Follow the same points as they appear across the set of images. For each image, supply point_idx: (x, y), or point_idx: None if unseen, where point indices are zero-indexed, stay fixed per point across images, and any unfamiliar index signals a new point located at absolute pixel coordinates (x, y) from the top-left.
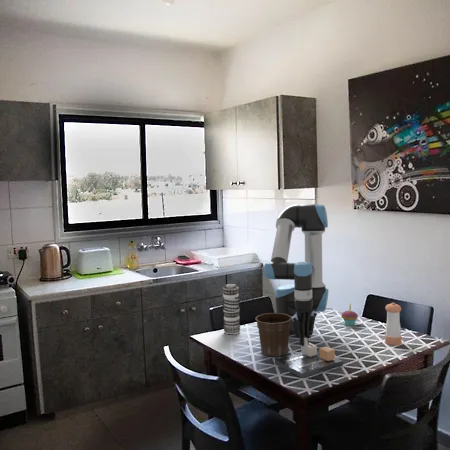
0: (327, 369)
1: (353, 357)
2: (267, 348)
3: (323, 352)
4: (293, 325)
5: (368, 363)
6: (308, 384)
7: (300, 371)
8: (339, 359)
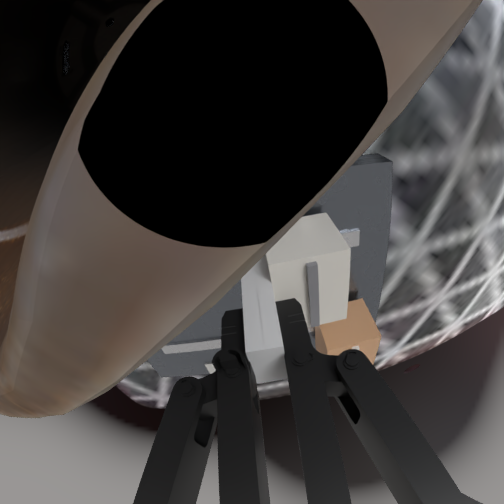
0: None
1: (445, 279)
2: (31, 114)
3: None
4: (136, 499)
5: (428, 328)
6: (171, 386)
7: (160, 368)
8: None
